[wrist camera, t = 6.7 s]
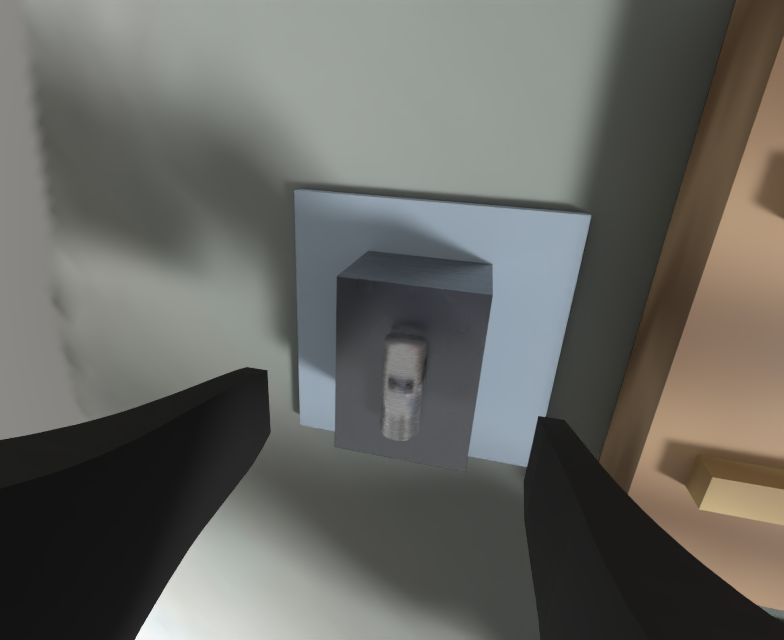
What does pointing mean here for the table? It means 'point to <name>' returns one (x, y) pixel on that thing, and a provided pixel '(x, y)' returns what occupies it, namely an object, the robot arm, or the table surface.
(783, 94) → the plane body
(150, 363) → the table surface
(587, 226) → the rubber mat
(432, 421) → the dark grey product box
